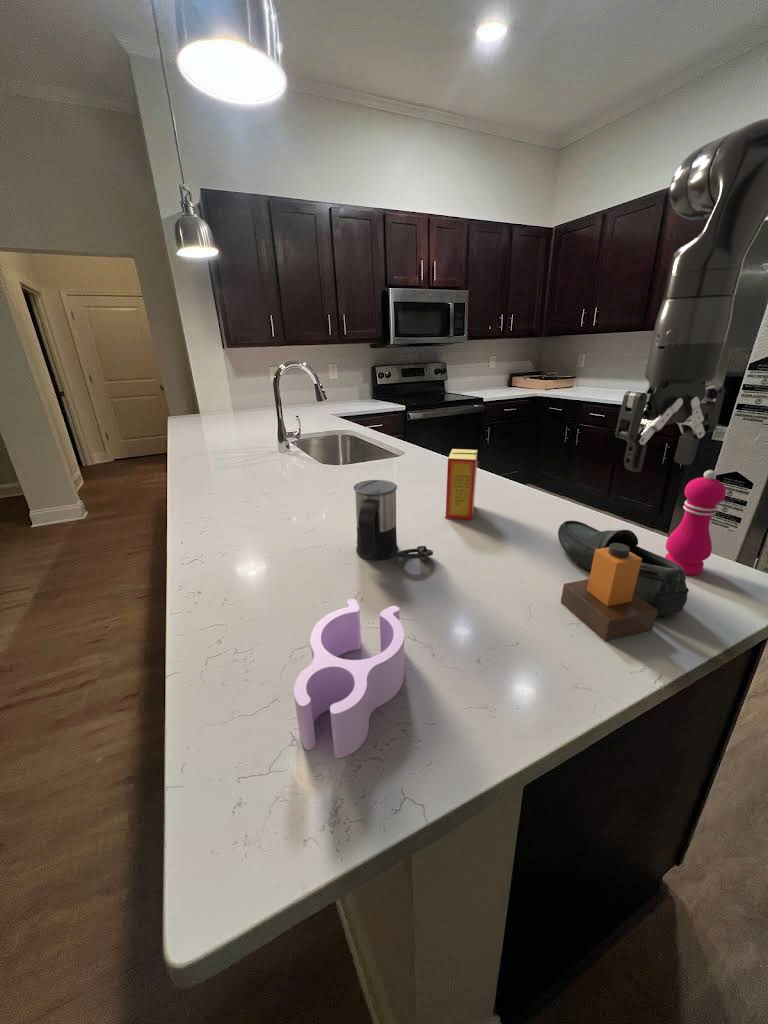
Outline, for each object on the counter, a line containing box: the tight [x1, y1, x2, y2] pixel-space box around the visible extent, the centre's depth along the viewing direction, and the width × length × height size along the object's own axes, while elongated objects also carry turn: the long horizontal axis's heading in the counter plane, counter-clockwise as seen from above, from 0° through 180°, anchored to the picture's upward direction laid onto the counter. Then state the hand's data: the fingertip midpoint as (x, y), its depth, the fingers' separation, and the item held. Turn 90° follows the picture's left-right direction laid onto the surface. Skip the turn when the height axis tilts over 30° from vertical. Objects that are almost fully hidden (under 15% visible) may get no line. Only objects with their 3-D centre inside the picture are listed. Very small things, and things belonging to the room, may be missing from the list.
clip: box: [293, 598, 405, 760], centre depth 55 cm, size 20×12×7 cm, turn 163°
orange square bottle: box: [587, 543, 642, 606], centre depth 66 cm, size 9×5×5 cm
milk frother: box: [353, 479, 434, 560], centre depth 87 cm, size 14×16×15 cm
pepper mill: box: [664, 469, 727, 576], centre depth 79 cm, size 7×7×20 cm
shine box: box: [560, 578, 658, 642], centre depth 68 cm, size 10×9×4 cm
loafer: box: [557, 520, 689, 617], centre depth 78 cm, size 10×29×10 cm, turn 17°
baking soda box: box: [445, 448, 479, 521], centre depth 107 cm, size 10×6×16 cm
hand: (657, 466), depth 58 cm, fingers open, 8 cm apart
